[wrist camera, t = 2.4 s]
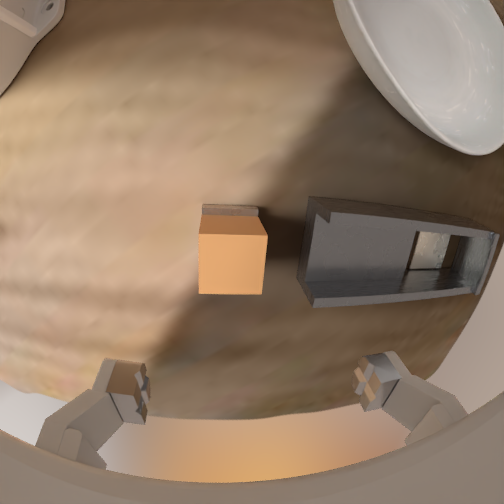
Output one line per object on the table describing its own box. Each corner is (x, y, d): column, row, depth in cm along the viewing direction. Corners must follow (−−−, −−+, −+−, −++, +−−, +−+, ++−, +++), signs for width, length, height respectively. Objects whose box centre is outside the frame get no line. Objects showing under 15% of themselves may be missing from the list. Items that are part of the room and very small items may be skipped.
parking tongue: (202, 204, 20) (202, 207, 19) (256, 206, 20) (258, 209, 19) (201, 265, 22) (201, 271, 21) (251, 266, 22) (252, 272, 21)
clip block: (201, 214, 19) (198, 233, 15) (257, 216, 20) (267, 235, 16) (201, 265, 21) (198, 293, 17) (253, 266, 21) (261, 294, 18)
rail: (308, 196, 21) (334, 214, 16) (469, 218, 24) (499, 234, 19) (296, 277, 23) (314, 311, 19) (453, 273, 26) (479, 294, 22)
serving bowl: (321, 141, 19) (367, 146, 13) (289, -60, 10) (311, -100, 4) (480, 153, 21) (525, 166, 14) (455, -4, 12) (492, -14, 6)
